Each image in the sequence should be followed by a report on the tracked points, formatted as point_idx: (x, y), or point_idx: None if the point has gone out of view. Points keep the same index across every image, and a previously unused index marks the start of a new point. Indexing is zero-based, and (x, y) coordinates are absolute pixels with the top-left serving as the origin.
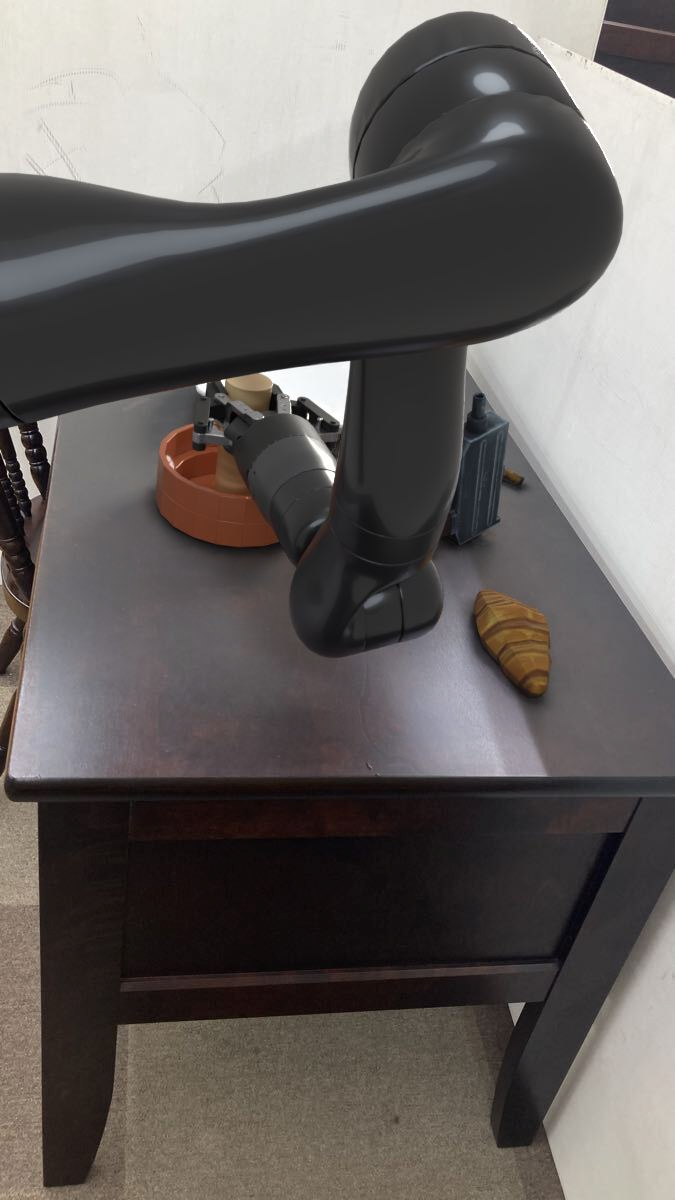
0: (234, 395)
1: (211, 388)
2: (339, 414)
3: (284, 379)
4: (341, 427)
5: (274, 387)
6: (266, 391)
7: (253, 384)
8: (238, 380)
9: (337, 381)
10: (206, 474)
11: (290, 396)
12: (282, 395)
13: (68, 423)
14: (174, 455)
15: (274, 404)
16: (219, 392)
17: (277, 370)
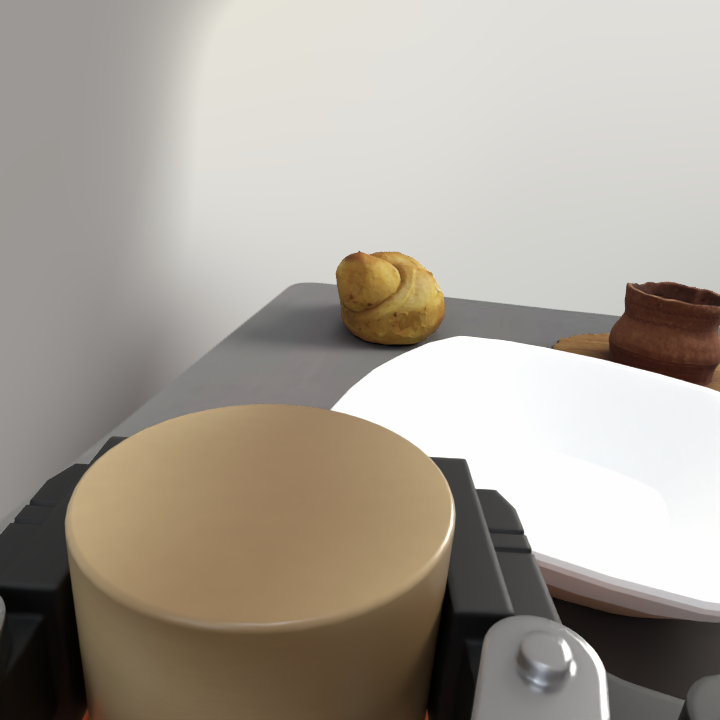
0: (83, 621)
1: (43, 511)
2: (697, 522)
3: (552, 422)
4: None
5: (480, 534)
6: (365, 625)
7: (271, 531)
8: (176, 481)
9: (678, 434)
10: None
11: (564, 459)
12: (533, 659)
13: (31, 498)
14: (87, 712)
15: (461, 696)
16: (16, 565)
17: (538, 403)
